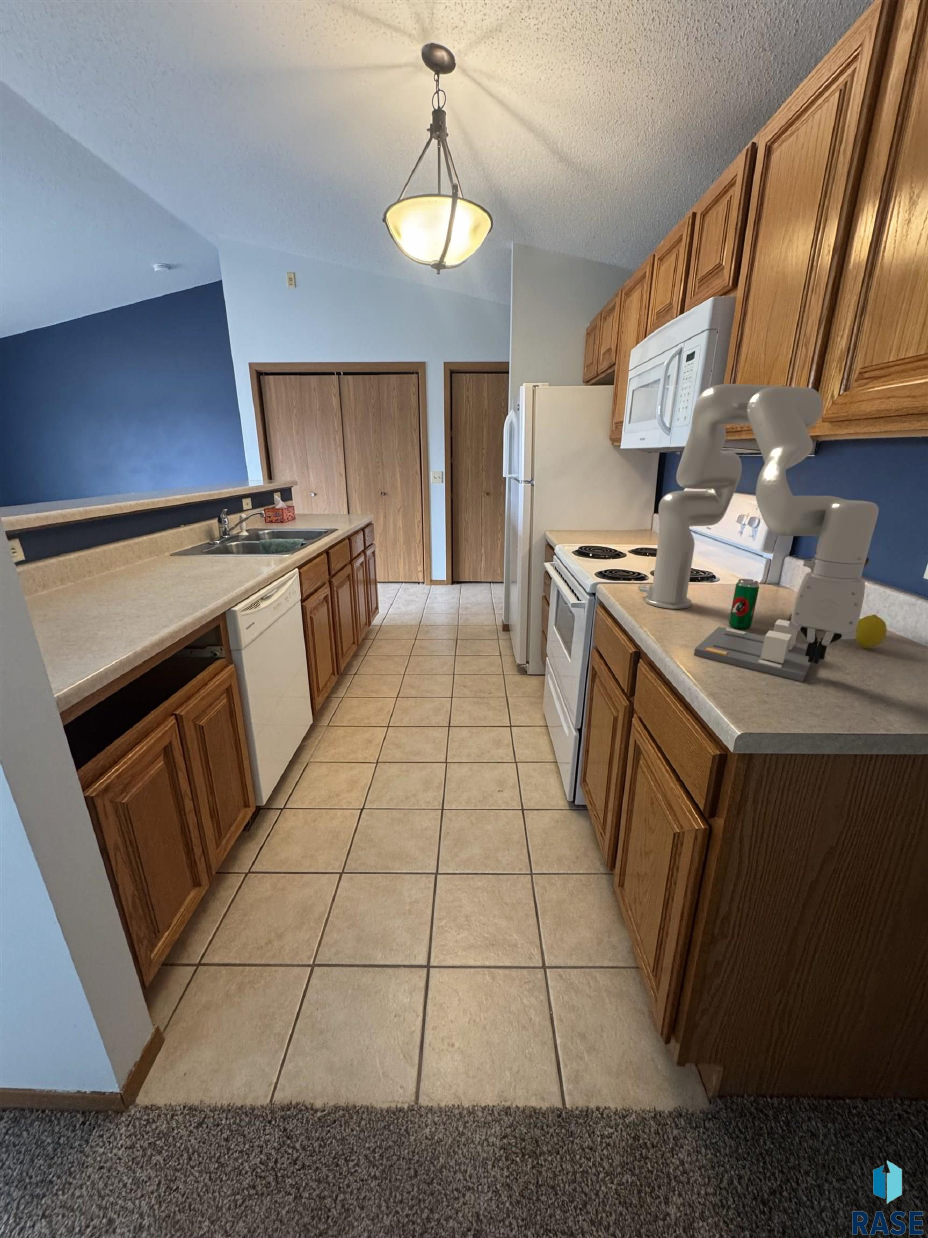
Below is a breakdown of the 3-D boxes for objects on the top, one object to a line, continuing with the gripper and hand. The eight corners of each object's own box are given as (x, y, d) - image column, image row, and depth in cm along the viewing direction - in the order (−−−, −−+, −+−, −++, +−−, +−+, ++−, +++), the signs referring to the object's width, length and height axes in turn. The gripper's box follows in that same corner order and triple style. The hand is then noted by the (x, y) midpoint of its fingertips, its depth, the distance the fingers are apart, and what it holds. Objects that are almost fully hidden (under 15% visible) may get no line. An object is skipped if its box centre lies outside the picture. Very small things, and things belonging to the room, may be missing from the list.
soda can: (753, 631, 122) (763, 583, 118) (731, 629, 123) (740, 582, 119) (747, 624, 126) (756, 578, 122) (725, 623, 127) (734, 577, 123)
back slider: (769, 645, 108) (774, 623, 106) (773, 640, 111) (778, 619, 109) (791, 649, 105) (796, 627, 104) (794, 644, 108) (799, 623, 107)
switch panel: (693, 654, 107) (695, 647, 107) (717, 632, 121) (718, 625, 120) (802, 681, 95) (804, 673, 94) (815, 653, 108) (817, 646, 108)
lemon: (852, 641, 115) (861, 609, 112) (882, 648, 111) (892, 614, 109) (847, 648, 111) (856, 614, 109) (878, 655, 108) (889, 620, 105)
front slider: (760, 658, 101) (765, 635, 99) (764, 652, 104) (769, 630, 102) (782, 663, 99) (788, 640, 97) (786, 657, 101) (791, 634, 100)
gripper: (785, 566, 93) (766, 656, 99) (888, 579, 84) (859, 678, 90) (792, 560, 98) (773, 646, 104) (889, 572, 89) (862, 665, 95)
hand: (813, 660), depth 97 cm, fingers closed
